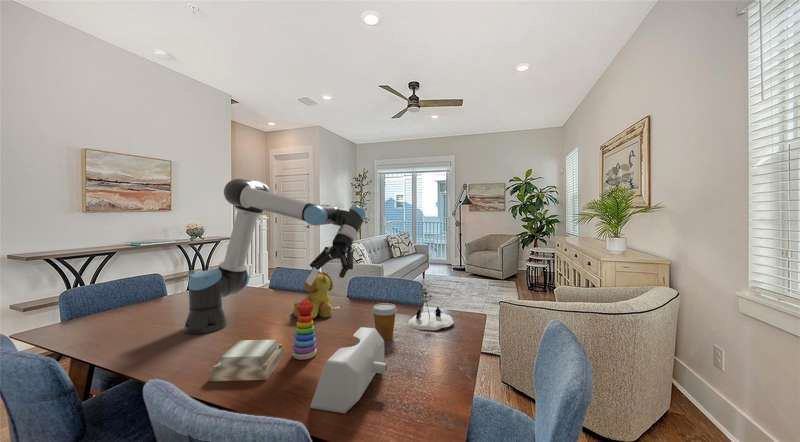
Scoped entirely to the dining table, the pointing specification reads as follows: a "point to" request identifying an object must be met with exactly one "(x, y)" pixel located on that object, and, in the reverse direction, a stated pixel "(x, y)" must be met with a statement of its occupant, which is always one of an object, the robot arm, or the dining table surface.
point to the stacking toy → (305, 333)
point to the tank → (350, 372)
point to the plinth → (248, 370)
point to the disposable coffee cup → (384, 319)
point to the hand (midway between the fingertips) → (321, 284)
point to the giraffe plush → (318, 296)
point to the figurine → (430, 317)
